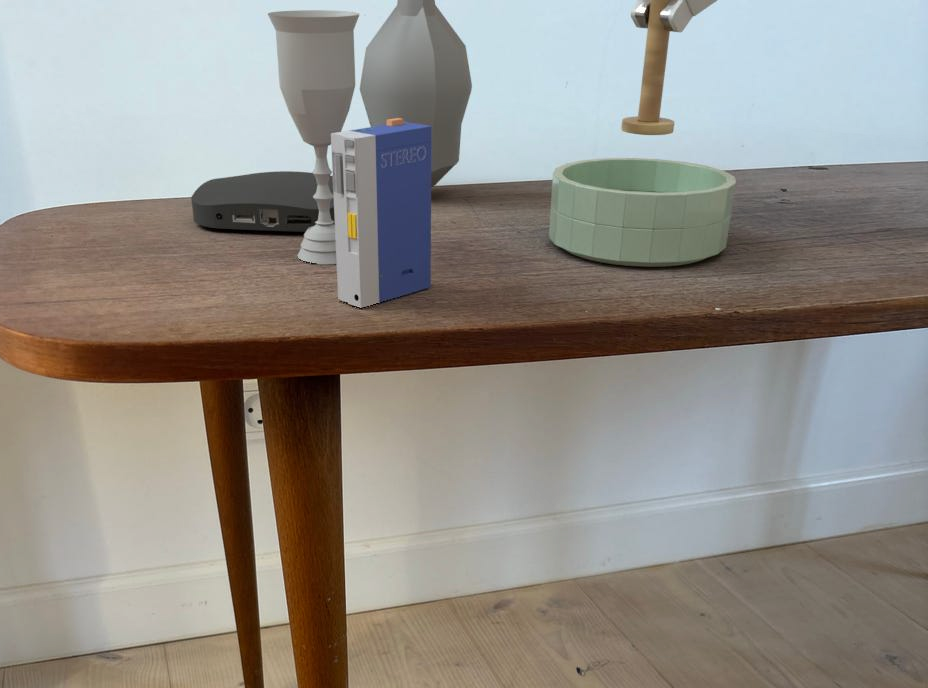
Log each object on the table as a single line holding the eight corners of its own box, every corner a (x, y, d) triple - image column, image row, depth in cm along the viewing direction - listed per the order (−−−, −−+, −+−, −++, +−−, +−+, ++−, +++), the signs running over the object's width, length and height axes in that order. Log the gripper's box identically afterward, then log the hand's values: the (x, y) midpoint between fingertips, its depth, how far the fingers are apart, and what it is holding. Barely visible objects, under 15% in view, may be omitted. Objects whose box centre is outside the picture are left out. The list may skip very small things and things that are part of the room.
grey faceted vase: (467, 184, 116) (474, -158, 99) (473, 208, 106) (482, -166, 89) (365, 184, 115) (354, -160, 98) (361, 207, 106) (349, -168, 89)
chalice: (324, 241, 95) (312, 8, 84) (384, 254, 91) (378, 13, 81) (267, 259, 90) (247, 13, 79) (328, 272, 86) (315, 18, 76)
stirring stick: (680, 129, 90) (707, -83, 82) (663, 137, 87) (691, -83, 78) (631, 124, 92) (653, -84, 83) (613, 131, 89) (634, -85, 80)
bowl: (744, 238, 97) (755, 169, 94) (694, 280, 86) (706, 202, 83) (586, 218, 103) (592, 152, 100) (521, 254, 92) (524, 180, 88)
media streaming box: (365, 202, 108) (364, 170, 106) (339, 237, 96) (338, 202, 94) (226, 197, 109) (223, 165, 107) (183, 231, 97) (178, 197, 95)
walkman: (405, 280, 85) (404, 116, 78) (431, 287, 83) (432, 120, 76) (334, 301, 80) (326, 128, 73) (360, 309, 78) (354, 133, 72)
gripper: (644, -155, 88) (549, -16, 89) (853, -163, 75) (739, 0, 76) (672, -89, 93) (582, 42, 94) (874, -86, 80) (767, 67, 80)
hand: (654, 24), depth 85 cm, fingers closed on stirring stick, 2 cm apart
